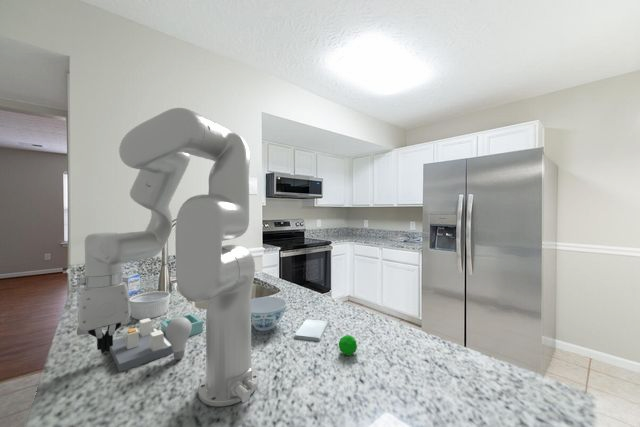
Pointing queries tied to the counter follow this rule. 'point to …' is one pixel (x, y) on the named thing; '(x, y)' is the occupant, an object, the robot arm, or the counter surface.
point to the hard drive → (311, 330)
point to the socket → (195, 322)
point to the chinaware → (266, 312)
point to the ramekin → (149, 304)
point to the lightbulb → (178, 335)
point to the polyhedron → (347, 345)
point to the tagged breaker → (131, 338)
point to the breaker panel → (141, 347)
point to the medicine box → (132, 283)
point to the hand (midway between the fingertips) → (105, 350)
